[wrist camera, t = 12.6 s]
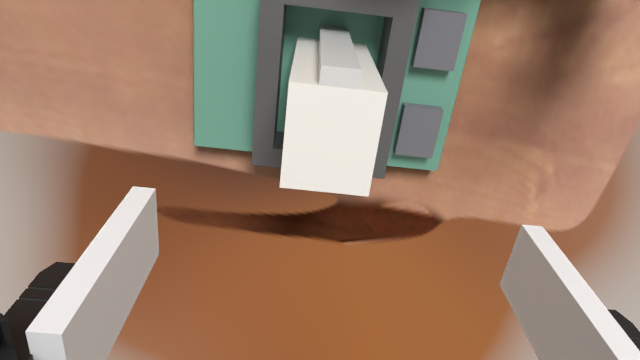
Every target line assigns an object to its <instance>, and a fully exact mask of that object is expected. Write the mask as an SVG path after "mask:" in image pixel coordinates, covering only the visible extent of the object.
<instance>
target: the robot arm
mask: <svg viewBox="0 0 640 360" xmlns="http://www.w3.org/2000/svg"><path fill="white" fill-rule="evenodd" d="M158 255H159V245H158V225H157V205H156V189H153V188H144V187H134V186H133V187H132V188H131V190H130V191H129V192H128V194H127V195H126V196H125V198H124V199H123V200H122V202H121V203H120V205H119V206H118V207H117V209H116V210H115V211H114V213H113V214H112V215H111V217H110V218H109V219H108V221H107V222H106V223H105V225H104V226H103V227H102V229H101V230H100V231H99V233H98V234H97V236H96V237H95V238H94V240H93V241H92V242H91V244H90V245H89V246H88V248H87V249H86V250H85V252H84V253H83V254H82V256H81V257H80V258H79V260H78V261H77V263H76V264H75V263H63V262H56V263H54V264H52V265H51V266H49V267H48V268H46V269H44V270H43V271H42V272H40V273H39V274H38V275H37V276H36V277H35V279H34V280H33V281H32V282H31V283H30V285H29V286H28V289H26V290H25V291H24V292H23V293H22V294H21V296H20V297H19V300H16V302H15V303H14V304H13V305H12V306H11V308H10V309H9V310H8V311H7V312H6V314H5V315H4V316H3V315H2V314H1V313H0V360H106V359H107V357H108V355H109V353H110V351H111V349H112V347H113V345H114V342H115V340H116V338H117V337H118V335H119V333H120V331H121V328H122V327H123V325H124V323H125V321H126V319H127V317H128V315H129V313H130V311H131V309H132V307H133V305H134V303H135V301H136V299H137V297H138V295H139V293H140V291H141V289H142V287H143V285H144V283H145V281H146V279H147V277H148V275H149V273H150V271H151V269H152V267H153V265H154V263H155V261H156V259H157V257H158ZM500 287H501V289H502V290H503V292H504V294H505V296H506V298H507V300H508V302H509V304H510V305H511V308H512V309H513V311H514V313H515V315H516V317H517V319H518V321H519V323H520V325H521V326H522V328H523V330H524V332H525V334H526V336H527V338H528V340H529V342H530V344H531V346H532V347H533V349H534V351H535V353H536V355H537V357H538V359H539V360H640V332H639V331H638V329H637V328H636V327H635V326H634V325H633V323H631V322H630V321H629V320H628V319H626V318H625V317H624V316H623V315H621V314H620V313H619V312H617V311H616V310H609V309H606V307H605V306H604V305H603V303H602V302H601V301H600V300H599V298H598V297H597V296H596V294H595V293H594V292H593V291H592V289H591V288H590V287H589V285H588V284H587V283H586V282H585V281H584V279H583V278H582V277H581V275H580V274H579V273H578V271H577V270H576V269H575V268H574V266H573V265H572V264H571V262H570V261H569V260H568V259H567V257H566V256H565V255H564V253H563V252H562V251H561V250H560V248H559V247H558V246H557V245H556V243H555V242H554V241H553V239H552V238H551V237H550V236H549V234H548V233H547V232H546V230H545V229H544V228H543V227H542V226H531V225H521V228H520V231H519V233H518V236H517V239H516V242H515V244H514V247H513V250H512V252H511V255H510V258H509V260H508V263H507V266H506V269H505V271H504V274H503V277H502V279H501V282H500Z"/></svg>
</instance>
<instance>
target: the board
mask: <svg viewBox="0 0 640 360" xmlns="http://www.w3.org/2000/svg"><path fill="white" fill-rule="evenodd" d="M480 2H481V0H194V146H203V147H212V148H222V149H231V150H241V151H251V152H252V163H251V165H256V166H265V167H275V168H281V165H282V153H283V142H284V131H285V119H286V108H287V96H288V85H289V78H290V73H291V68H292V63H293V58H294V53H295V48H296V44H297V39H298V37H304V38H312V39H319V30H320V25H324V26H332V27H340V28H348V31H349V34H350V37H351V40H352V43H354V44H362V45H366V46H367V48H368V50H369V53H370V55H371V57H372V59H373V61H374V63H375V66H376V68H377V70H378V72H379V74H380V77H381V79H382V81H383V83H384V85H385V88H386V90H387V92H388V95H387V101H386V106H385V111H384V117H383V122H382V127H381V133H380V138H379V143H378V149H377V154H376V159H375V165H374V170H373V175H372V178H382V179H384V177H385V172H386V167H387V166H394V167H404V168H414V169H423V170H433V171H437V169H438V166H439V162H440V158H441V154H442V150H443V146H444V142H445V138H446V134H447V131H448V127H449V123H450V119H451V115H452V111H453V107H454V103H455V99H456V96H457V92H458V88H459V84H460V80H461V76H462V72H463V68H464V64H465V60H466V57H467V53H468V49H469V45H470V41H471V37H472V33H473V29H474V25H475V22H476V18H477V14H478V10H479V6H480Z"/></svg>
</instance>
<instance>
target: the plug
mask: <svg viewBox="0 0 640 360" xmlns="http://www.w3.org/2000/svg"><path fill="white" fill-rule="evenodd" d="M387 95H388V92H387V90H386V88H385V85H384V83H383V81H382V79H381V77H380V74H379V72H378V70H377V68H376V66H375V63H374V61H373V59H372V57H371V55H370V53H369V50H368V48H367V46H366V45H362V44H354V43H352V40H351V37H350V34H349V31H348V28H340V27H332V26H324V25H320V30H319V39H312V38H304V37H298V39H297V44H296V48H295V53H294V58H293V63H292V68H291V73H290V78H289V85H288V96H287V108H286V119H285V131H284V142H283V153H282V165H281V176H280V188H289V189H299V190H309V191H319V192H329V193H339V194H349V195H359V196H369V191H370V186H371V181H372V175H373V170H374V165H375V159H376V154H377V149H378V143H379V138H380V133H381V127H382V122H383V117H384V111H385V106H386V101H387Z"/></svg>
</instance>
